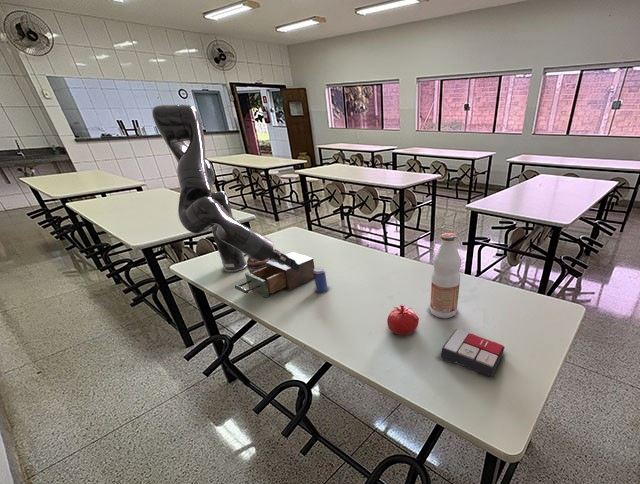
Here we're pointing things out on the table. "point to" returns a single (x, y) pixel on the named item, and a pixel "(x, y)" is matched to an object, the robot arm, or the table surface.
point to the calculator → (473, 352)
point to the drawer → (264, 281)
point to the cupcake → (255, 264)
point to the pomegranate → (402, 321)
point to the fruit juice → (445, 278)
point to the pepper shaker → (320, 279)
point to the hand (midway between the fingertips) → (291, 265)
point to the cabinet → (292, 275)
